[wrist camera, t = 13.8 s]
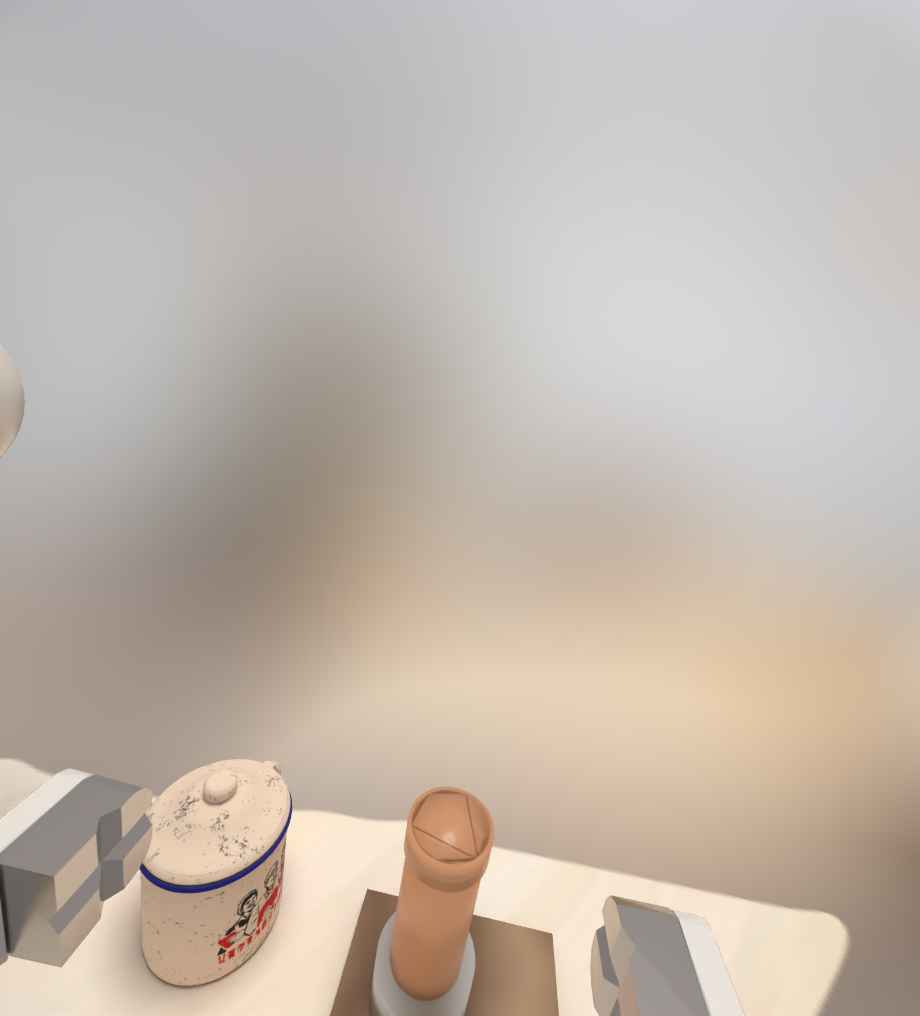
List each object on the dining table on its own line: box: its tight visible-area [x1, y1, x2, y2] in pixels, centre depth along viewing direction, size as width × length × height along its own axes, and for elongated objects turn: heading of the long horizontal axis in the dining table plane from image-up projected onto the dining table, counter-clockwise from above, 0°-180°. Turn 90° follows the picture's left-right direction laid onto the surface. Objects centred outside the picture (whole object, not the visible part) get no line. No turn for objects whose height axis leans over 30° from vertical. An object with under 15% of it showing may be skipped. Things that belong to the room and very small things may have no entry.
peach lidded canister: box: [390, 787, 494, 1001], centre depth 26 cm, size 5×5×10 cm
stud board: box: [330, 889, 559, 1016], centre depth 28 cm, size 14×11×5 cm
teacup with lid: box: [140, 759, 292, 986], centre depth 32 cm, size 12×9×12 cm
